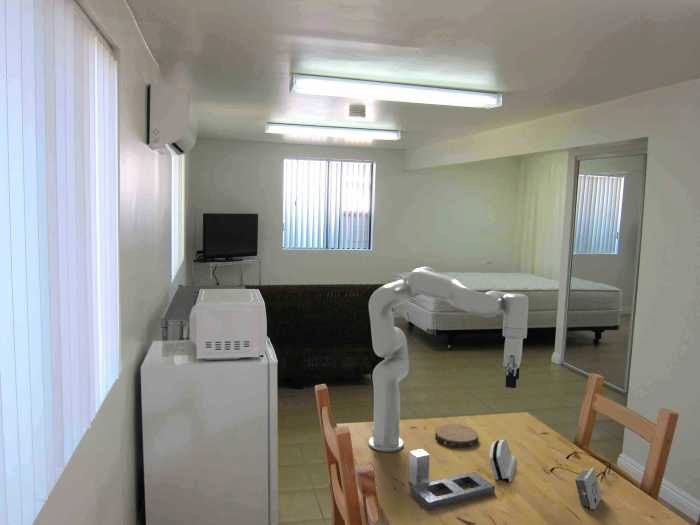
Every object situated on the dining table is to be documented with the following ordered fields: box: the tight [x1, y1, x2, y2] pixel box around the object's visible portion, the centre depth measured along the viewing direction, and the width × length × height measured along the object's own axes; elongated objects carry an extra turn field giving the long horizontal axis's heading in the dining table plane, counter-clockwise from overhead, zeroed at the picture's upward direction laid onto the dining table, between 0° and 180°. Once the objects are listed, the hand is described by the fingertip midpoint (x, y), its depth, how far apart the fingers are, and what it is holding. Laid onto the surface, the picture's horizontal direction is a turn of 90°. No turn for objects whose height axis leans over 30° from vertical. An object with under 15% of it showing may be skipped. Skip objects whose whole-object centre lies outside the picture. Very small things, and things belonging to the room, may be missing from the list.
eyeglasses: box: [549, 451, 612, 483], centre depth 188 cm, size 16×16×4 cm
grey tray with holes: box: [410, 471, 496, 511], centre depth 172 cm, size 10×24×2 cm, turn 115°
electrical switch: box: [575, 467, 602, 511], centre depth 169 cm, size 9×5×9 cm, turn 143°
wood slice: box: [434, 423, 479, 449], centre depth 212 cm, size 16×16×3 cm
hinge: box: [488, 439, 517, 483], centre depth 189 cm, size 17×5×10 cm, turn 157°
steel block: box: [408, 448, 430, 486], centre depth 178 cm, size 4×4×10 cm
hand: (512, 383), depth 184 cm, fingers open, 9 cm apart
